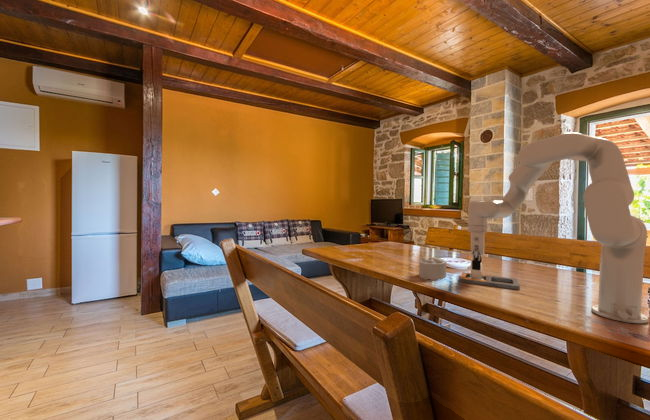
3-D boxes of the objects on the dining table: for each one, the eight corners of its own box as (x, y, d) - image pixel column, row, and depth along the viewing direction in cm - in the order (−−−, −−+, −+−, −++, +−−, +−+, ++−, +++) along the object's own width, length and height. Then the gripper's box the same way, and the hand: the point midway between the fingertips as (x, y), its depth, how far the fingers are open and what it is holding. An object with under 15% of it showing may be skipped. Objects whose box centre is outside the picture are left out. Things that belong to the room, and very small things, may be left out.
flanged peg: (483, 283, 128) (483, 264, 128) (467, 281, 131) (468, 263, 131) (483, 280, 134) (484, 262, 133) (469, 278, 137) (469, 260, 136)
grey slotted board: (519, 290, 119) (519, 285, 119) (459, 281, 130) (459, 278, 130) (517, 282, 130) (517, 278, 130) (462, 275, 141) (462, 271, 141)
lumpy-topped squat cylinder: (448, 276, 139) (449, 258, 138) (434, 281, 130) (434, 262, 130) (428, 272, 147) (428, 255, 146) (413, 276, 138) (413, 258, 138)
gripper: (486, 231, 122) (485, 272, 123) (487, 227, 137) (487, 265, 138) (466, 230, 126) (465, 270, 126) (469, 227, 141) (469, 263, 141)
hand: (476, 267), depth 132 cm, fingers open, 9 cm apart
